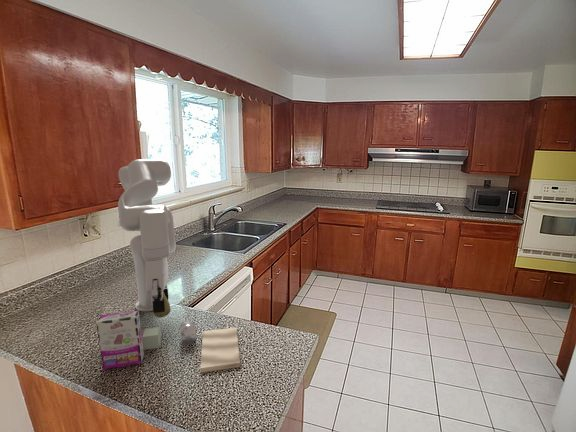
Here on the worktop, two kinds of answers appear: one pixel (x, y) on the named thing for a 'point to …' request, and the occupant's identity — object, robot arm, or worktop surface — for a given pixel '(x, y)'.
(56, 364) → the worktop surface
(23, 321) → the worktop surface
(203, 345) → the birch board
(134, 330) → the candy bar box
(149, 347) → the sage cube
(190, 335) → the glass globe
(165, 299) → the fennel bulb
